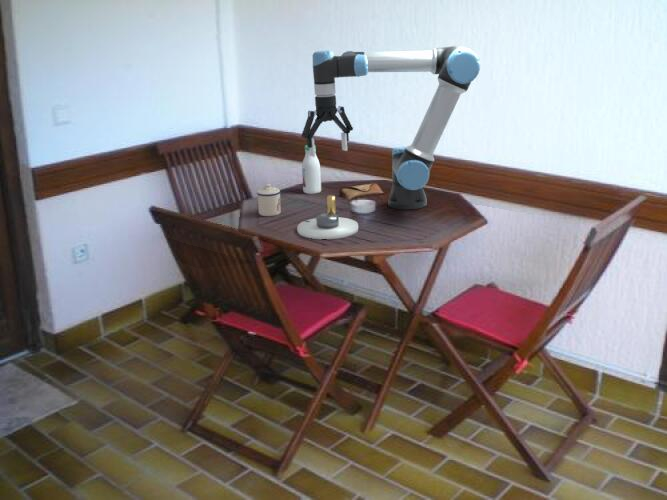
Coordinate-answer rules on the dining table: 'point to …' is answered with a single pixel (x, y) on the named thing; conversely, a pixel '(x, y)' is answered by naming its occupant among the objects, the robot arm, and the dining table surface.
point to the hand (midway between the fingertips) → (328, 153)
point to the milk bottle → (311, 173)
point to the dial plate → (327, 229)
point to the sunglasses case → (360, 191)
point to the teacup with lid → (269, 201)
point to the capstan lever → (328, 215)
